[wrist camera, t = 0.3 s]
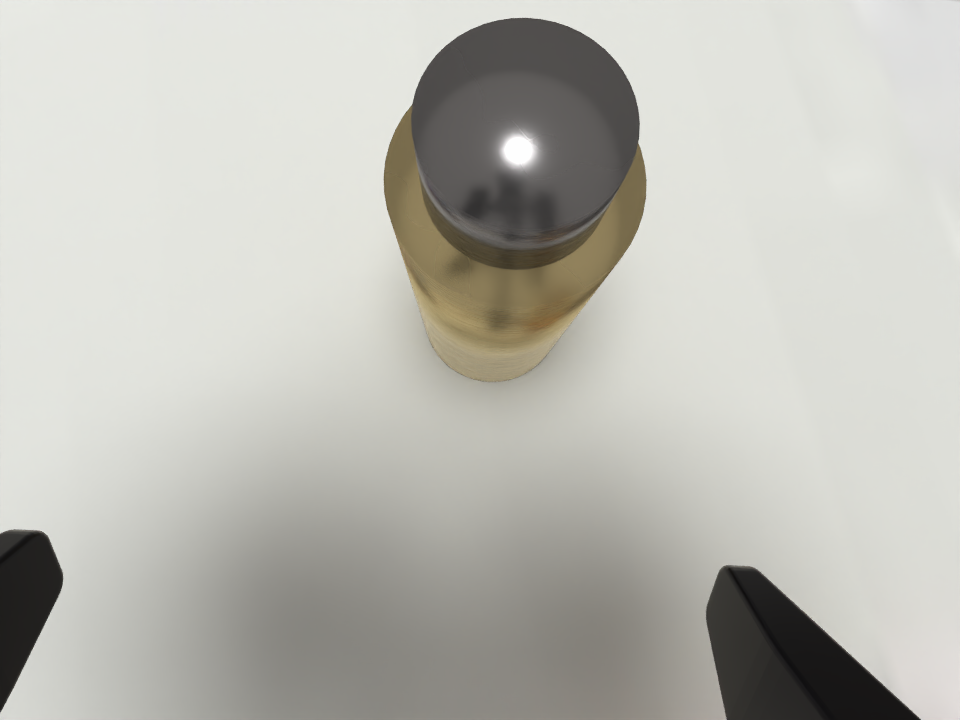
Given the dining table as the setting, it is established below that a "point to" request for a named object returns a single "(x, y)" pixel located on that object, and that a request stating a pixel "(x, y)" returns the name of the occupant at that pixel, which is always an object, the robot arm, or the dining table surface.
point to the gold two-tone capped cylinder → (513, 190)
